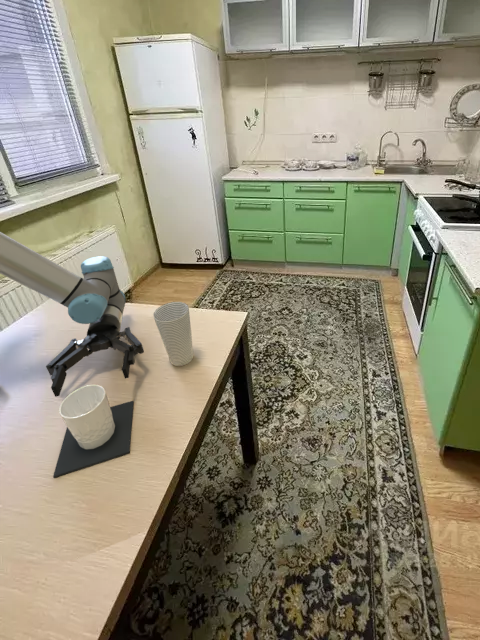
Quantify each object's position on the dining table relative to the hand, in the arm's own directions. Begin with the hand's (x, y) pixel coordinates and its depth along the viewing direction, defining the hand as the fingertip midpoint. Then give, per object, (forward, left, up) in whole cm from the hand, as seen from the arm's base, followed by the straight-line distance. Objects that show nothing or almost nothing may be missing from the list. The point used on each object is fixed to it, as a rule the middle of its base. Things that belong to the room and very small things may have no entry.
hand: (91, 382), depth 70 cm
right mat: (0, -7, -8) cm, 11 cm away
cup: (+18, +10, -8) cm, 22 cm away
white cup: (0, -7, -8) cm, 11 cm away
